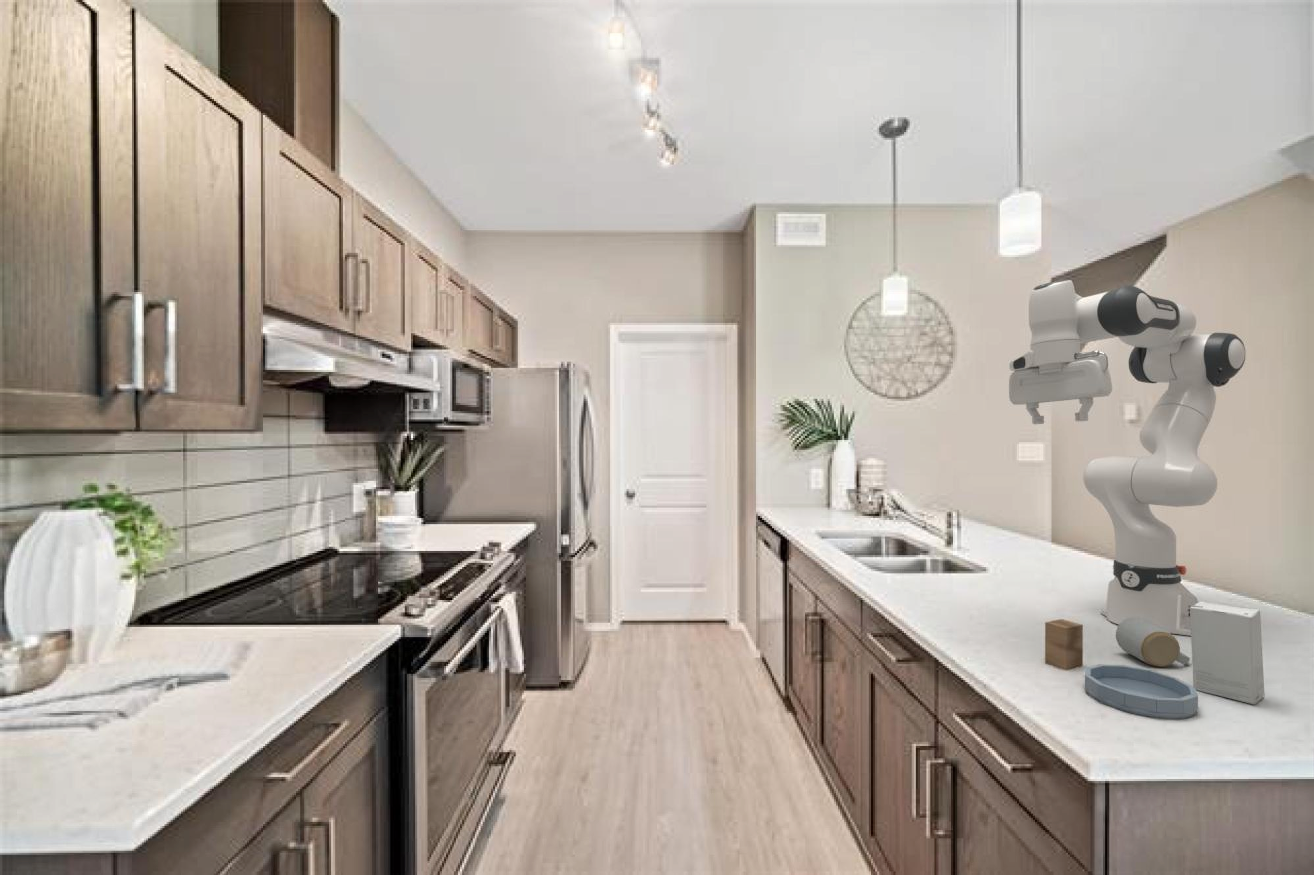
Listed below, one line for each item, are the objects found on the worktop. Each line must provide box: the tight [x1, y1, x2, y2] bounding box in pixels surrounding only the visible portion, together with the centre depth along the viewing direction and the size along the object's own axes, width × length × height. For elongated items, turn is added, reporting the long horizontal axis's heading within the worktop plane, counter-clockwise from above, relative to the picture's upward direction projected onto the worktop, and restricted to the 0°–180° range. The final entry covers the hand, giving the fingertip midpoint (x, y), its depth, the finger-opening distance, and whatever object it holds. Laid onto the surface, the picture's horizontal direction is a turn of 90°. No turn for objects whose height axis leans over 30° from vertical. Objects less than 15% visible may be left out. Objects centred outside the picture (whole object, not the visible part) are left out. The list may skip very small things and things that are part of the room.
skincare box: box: [1190, 600, 1265, 705], centre depth 106 cm, size 8×6×15 cm
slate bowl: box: [1084, 663, 1199, 720], centre depth 104 cm, size 15×15×3 cm
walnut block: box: [1044, 618, 1084, 671], centre depth 120 cm, size 5×4×8 cm
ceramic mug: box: [1115, 617, 1191, 668], centre depth 121 cm, size 11×8×8 cm
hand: (1059, 422), depth 130 cm, fingers open, 8 cm apart
